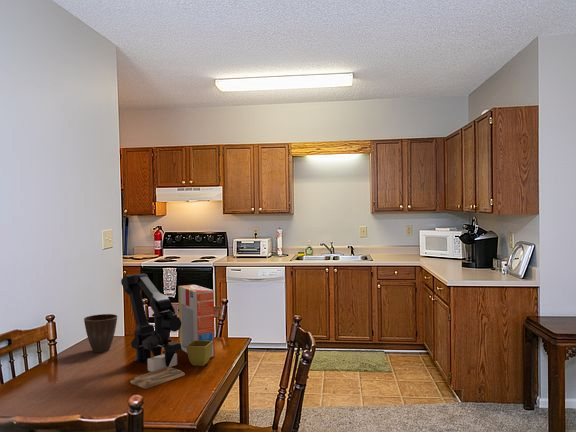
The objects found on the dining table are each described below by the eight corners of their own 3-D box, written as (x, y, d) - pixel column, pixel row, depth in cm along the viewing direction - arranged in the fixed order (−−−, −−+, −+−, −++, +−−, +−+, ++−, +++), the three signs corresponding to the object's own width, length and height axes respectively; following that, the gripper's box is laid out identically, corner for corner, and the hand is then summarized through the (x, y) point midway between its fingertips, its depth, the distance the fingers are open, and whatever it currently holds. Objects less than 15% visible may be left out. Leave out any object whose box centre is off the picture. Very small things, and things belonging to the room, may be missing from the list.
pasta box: (214, 356, 212) (213, 290, 212) (198, 360, 207) (196, 292, 207) (195, 345, 231) (194, 284, 231) (179, 348, 226) (178, 286, 226)
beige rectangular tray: (130, 383, 179) (130, 376, 179) (168, 370, 194) (168, 364, 194) (146, 388, 173) (145, 381, 173) (184, 375, 187) (184, 368, 187)
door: (147, 370, 194) (147, 358, 194) (171, 363, 204) (171, 351, 204) (153, 372, 192) (153, 360, 192) (177, 365, 201) (176, 353, 201)
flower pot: (206, 368, 196) (205, 346, 196) (186, 367, 198) (186, 345, 198) (213, 361, 204) (213, 340, 204) (194, 360, 206) (194, 340, 206)
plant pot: (106, 344, 236) (105, 312, 236) (124, 348, 227) (123, 315, 227) (78, 351, 224) (77, 318, 224) (96, 356, 215) (95, 321, 215)
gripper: (132, 328, 197) (132, 366, 197) (159, 335, 186) (160, 374, 186) (154, 323, 206) (155, 359, 206) (181, 329, 194) (182, 367, 194)
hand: (162, 364), depth 198 cm, fingers open, 6 cm apart
